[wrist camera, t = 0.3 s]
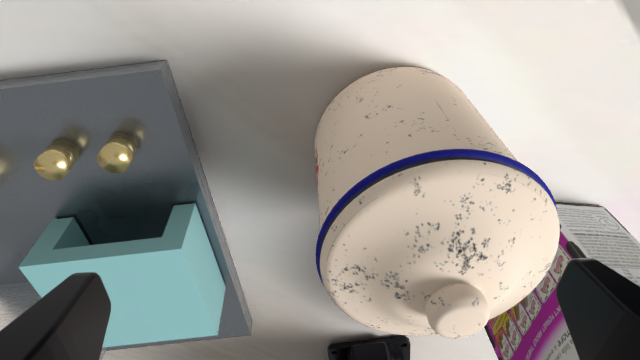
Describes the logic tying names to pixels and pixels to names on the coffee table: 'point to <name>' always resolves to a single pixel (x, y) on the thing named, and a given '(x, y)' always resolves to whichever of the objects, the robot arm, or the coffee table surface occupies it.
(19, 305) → the hollow square metal block
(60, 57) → the coffee table surface
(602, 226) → the candy bar box
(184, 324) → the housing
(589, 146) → the coffee table surface
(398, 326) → the teacup with lid
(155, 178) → the metal cubes
